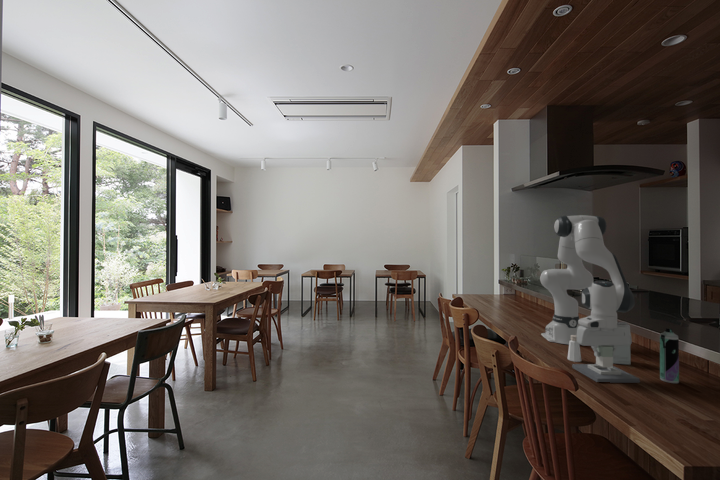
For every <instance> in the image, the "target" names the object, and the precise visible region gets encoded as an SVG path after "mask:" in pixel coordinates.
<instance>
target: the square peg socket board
mask: <svg viewBox="0 0 720 480" xmlns="http://www.w3.org/2000/svg"><path fill="white" fill-rule="evenodd" d="M571 368H572V369H574V370H576V371H578V372H579V373H581V374H582V375H584V376H585V377H587V378H588V379H591V380H592V381H594V382H596V383H597V382H610V383H612V384H613V383H615V384H616V383H619V384H620V383H639V384H640V383H641V381H640V379H641V378H639V377H637V376H635V375H633V374H631V373H629V372H626V371H625V370H622V369H620V367H616V366H614V365H613V367H602V366H600V365H598V364H596V363H594V364H593V363H587V364H586V363H572V365H571ZM610 383H609V384H610Z"/></svg>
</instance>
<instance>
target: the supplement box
mask: <svg viewBox="0 0 720 480" xmlns="http://www.w3.org/2000/svg"><path fill="white" fill-rule="evenodd" d="M631 355H632V354H631V345H630V346H617V349H616V351H615V352H614V357H613V365H614V364H617V365H629V366H630V365H631V362H632V361H631Z"/></svg>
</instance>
